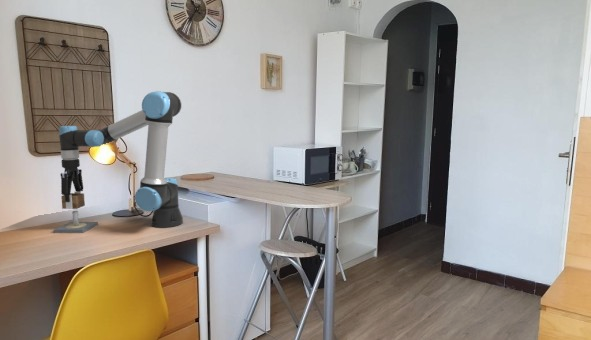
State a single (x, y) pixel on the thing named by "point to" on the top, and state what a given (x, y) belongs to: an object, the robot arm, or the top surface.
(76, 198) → the collar
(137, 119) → the robot arm
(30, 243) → the top surface
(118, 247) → the top surface
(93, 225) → the post block
